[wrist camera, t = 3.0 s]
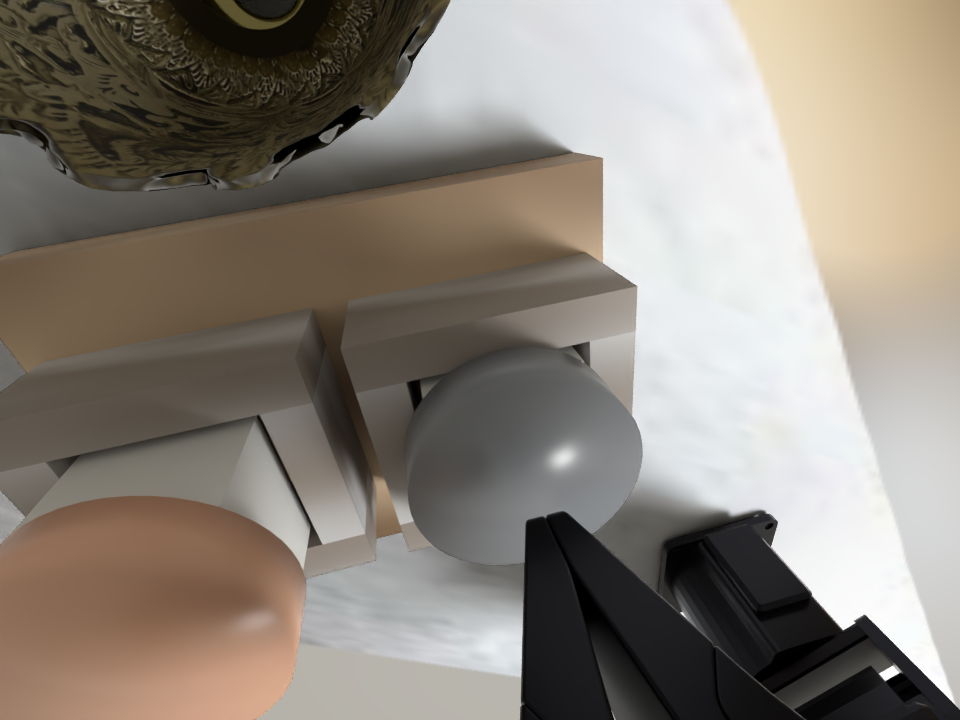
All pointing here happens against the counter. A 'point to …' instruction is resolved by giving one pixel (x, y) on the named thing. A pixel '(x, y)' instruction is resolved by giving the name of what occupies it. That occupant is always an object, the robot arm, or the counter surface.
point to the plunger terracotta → (156, 584)
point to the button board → (308, 330)
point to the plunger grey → (516, 451)
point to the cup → (198, 83)
